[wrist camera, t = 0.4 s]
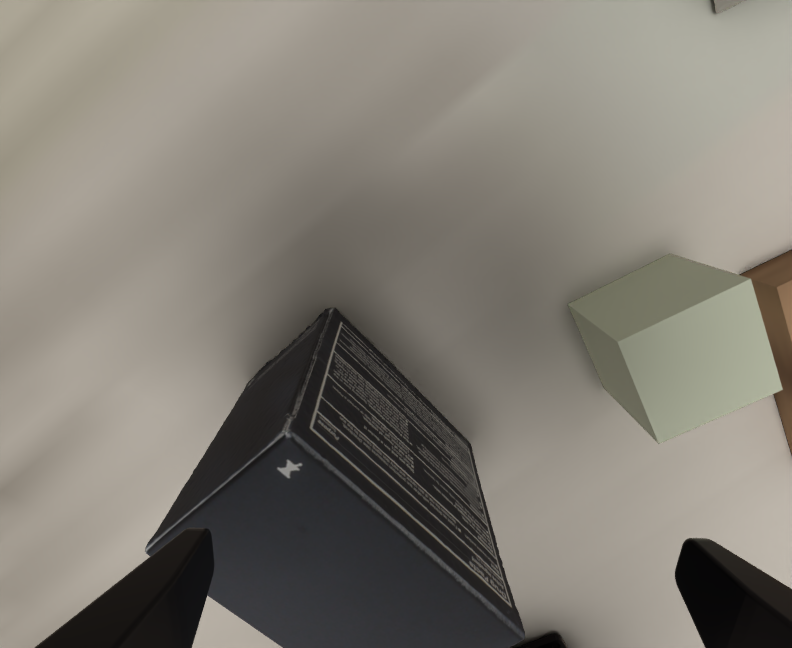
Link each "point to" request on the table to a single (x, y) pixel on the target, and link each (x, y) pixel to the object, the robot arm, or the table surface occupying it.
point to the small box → (346, 508)
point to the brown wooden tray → (778, 324)
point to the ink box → (725, 4)
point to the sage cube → (678, 344)
